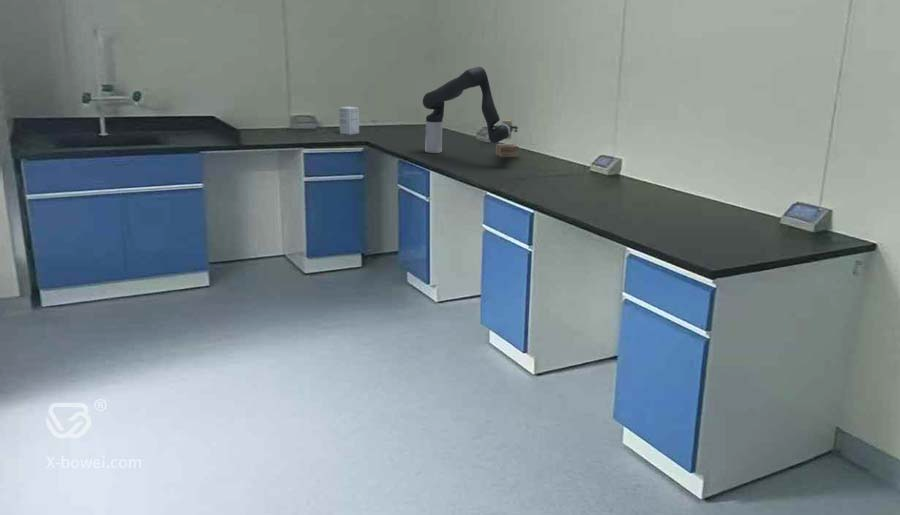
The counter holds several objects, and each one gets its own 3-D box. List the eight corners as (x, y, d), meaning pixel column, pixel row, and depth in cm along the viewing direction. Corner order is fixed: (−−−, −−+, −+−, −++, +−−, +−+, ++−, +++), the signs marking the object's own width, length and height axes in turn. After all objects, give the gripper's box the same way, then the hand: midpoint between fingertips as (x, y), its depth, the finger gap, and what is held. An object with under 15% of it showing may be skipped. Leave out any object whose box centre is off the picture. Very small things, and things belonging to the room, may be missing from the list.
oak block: (509, 139, 406) (510, 120, 403) (501, 138, 406) (502, 120, 404) (511, 138, 410) (512, 120, 407) (503, 137, 411) (503, 119, 408)
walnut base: (517, 157, 411) (518, 146, 410) (500, 157, 409) (501, 146, 408) (512, 154, 421) (513, 143, 419) (495, 154, 419) (496, 144, 417)
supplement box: (349, 132, 490) (348, 106, 485) (359, 133, 485) (359, 107, 480) (339, 133, 483) (338, 107, 478) (349, 134, 478) (349, 108, 473)
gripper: (516, 124, 391) (520, 120, 407) (490, 122, 393) (495, 119, 409) (516, 138, 393) (520, 134, 409) (489, 136, 395) (494, 133, 412)
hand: (507, 126), depth 409 cm, fingers closed on oak block, 4 cm apart
